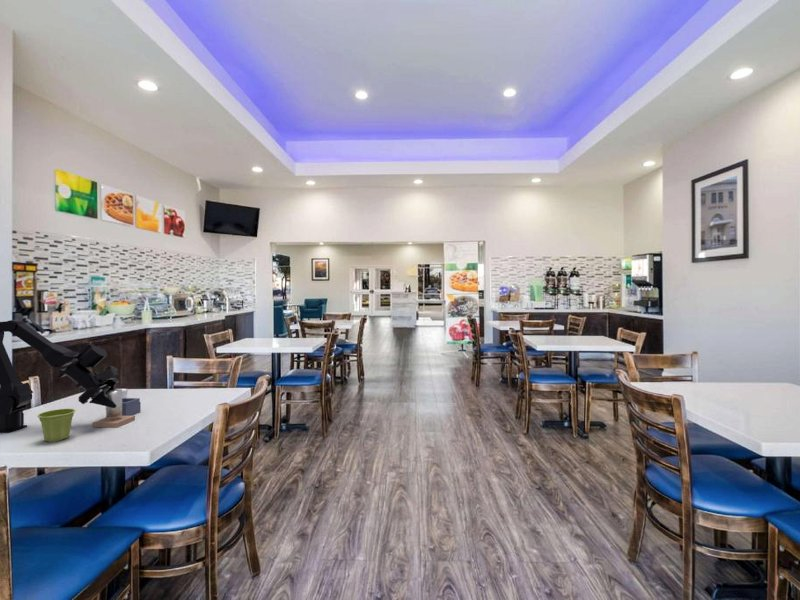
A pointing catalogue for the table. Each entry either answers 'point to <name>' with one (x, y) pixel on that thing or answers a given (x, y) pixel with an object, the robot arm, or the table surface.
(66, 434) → the plant pot
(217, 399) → the table surface
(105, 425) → the tan flat square slab
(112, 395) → the silver metal cylinder
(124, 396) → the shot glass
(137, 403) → the dark blue ridged block
